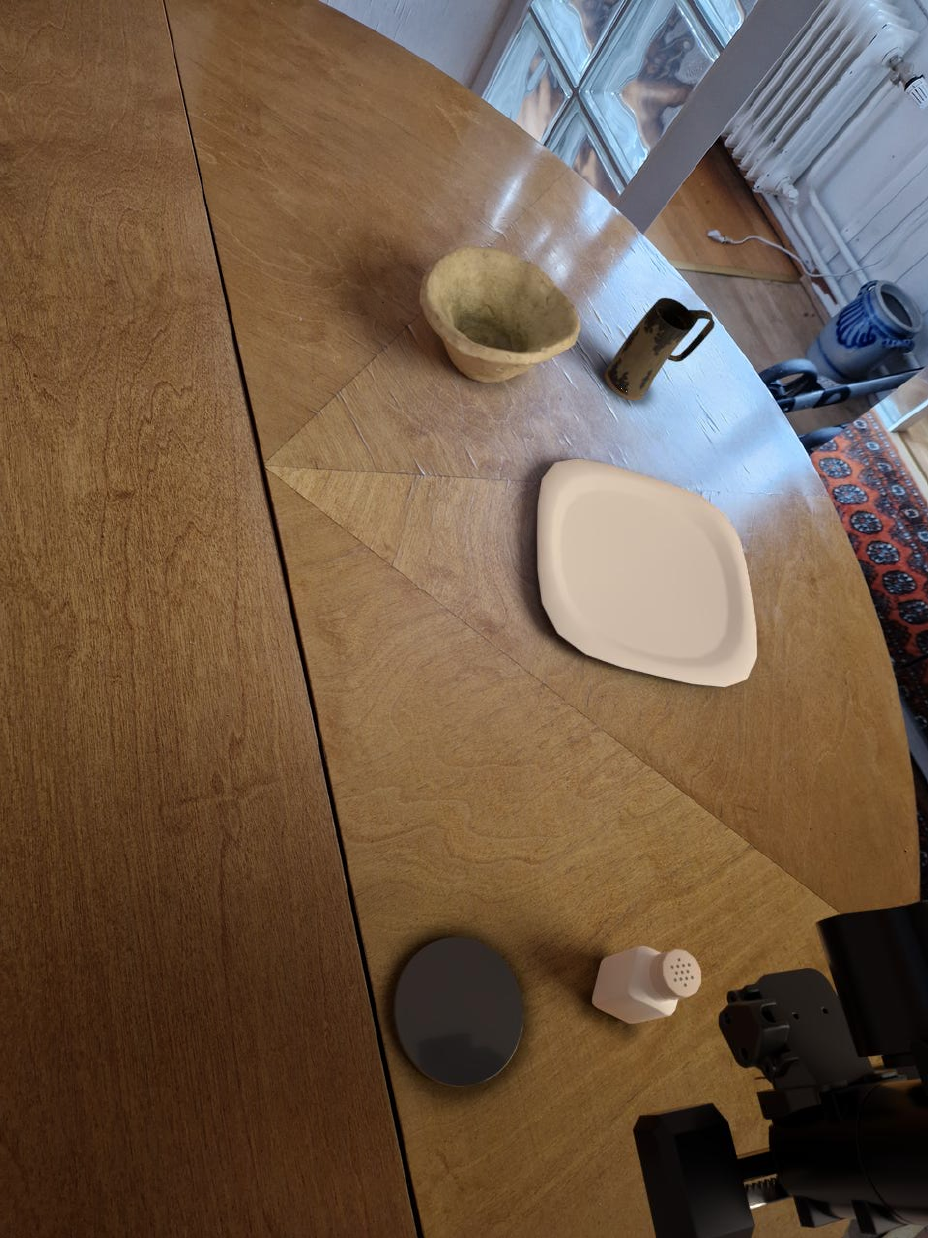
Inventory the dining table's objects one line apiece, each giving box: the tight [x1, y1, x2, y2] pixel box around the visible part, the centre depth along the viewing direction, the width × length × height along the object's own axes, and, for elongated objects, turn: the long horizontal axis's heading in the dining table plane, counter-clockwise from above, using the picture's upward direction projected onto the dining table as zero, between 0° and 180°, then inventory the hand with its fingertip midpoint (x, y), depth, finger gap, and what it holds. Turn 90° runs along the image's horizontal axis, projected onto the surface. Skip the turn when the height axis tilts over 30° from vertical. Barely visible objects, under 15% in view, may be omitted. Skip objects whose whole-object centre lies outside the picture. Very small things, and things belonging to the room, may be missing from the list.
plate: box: [536, 458, 758, 689], centre depth 92 cm, size 25×25×2 cm
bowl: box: [418, 246, 581, 384], centre depth 95 cm, size 14×18×15 cm
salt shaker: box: [591, 945, 702, 1025], centre depth 66 cm, size 4×4×10 cm
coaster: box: [392, 936, 525, 1088], centre depth 65 cm, size 10×10×1 cm
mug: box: [604, 297, 716, 401], centre depth 103 cm, size 8×6×12 cm
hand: (712, 1150), depth 54 cm, fingers open, 9 cm apart
